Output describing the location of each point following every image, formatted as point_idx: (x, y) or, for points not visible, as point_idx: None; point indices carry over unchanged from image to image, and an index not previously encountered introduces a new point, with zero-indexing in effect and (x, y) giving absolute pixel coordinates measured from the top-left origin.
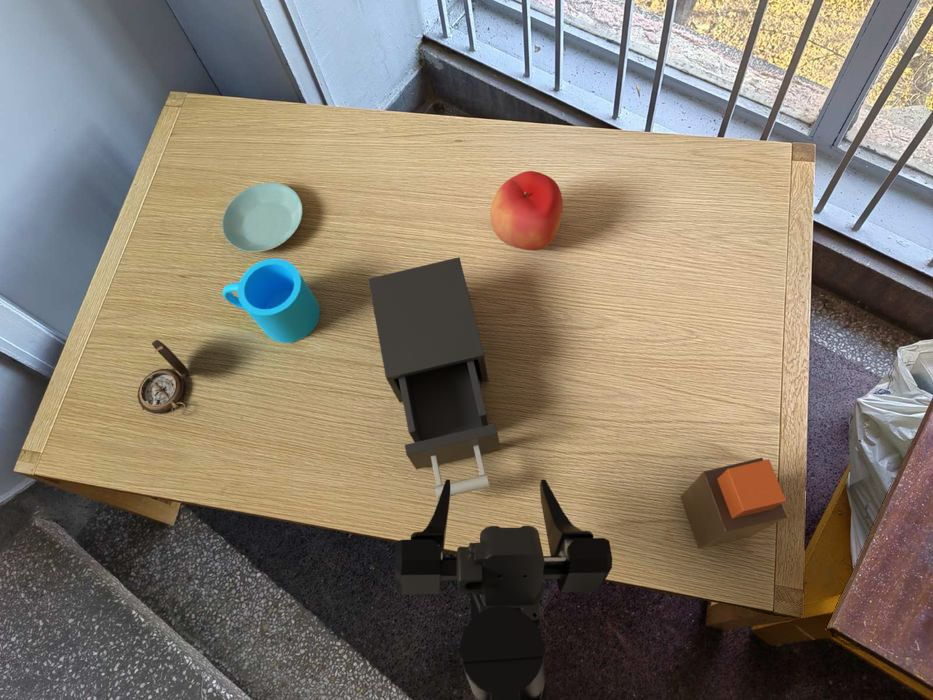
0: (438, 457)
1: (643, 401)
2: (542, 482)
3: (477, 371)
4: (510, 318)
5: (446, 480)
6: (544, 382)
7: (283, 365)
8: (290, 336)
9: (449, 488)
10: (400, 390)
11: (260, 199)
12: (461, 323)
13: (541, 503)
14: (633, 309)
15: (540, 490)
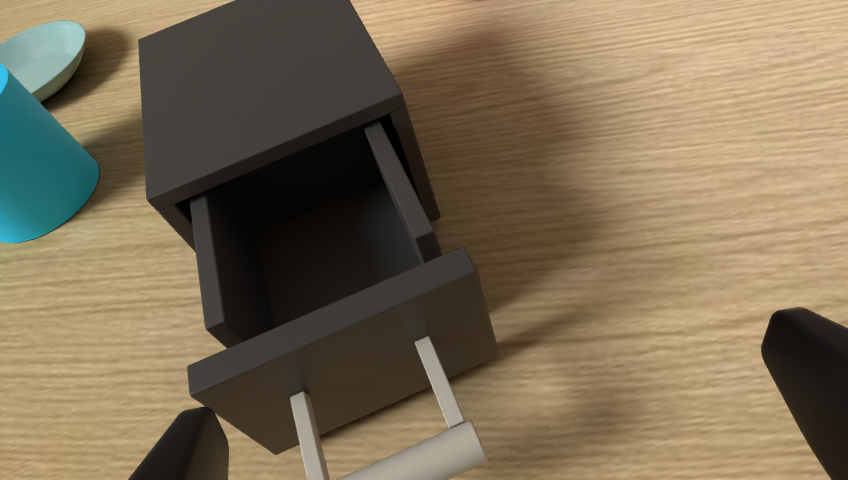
0: (319, 400)
1: (835, 173)
2: (798, 321)
3: None
4: (465, 101)
5: (181, 413)
6: (571, 190)
7: (9, 282)
8: (22, 220)
9: (182, 461)
10: None
11: (32, 53)
12: (339, 52)
13: (827, 467)
14: (717, 28)
15: (782, 386)
